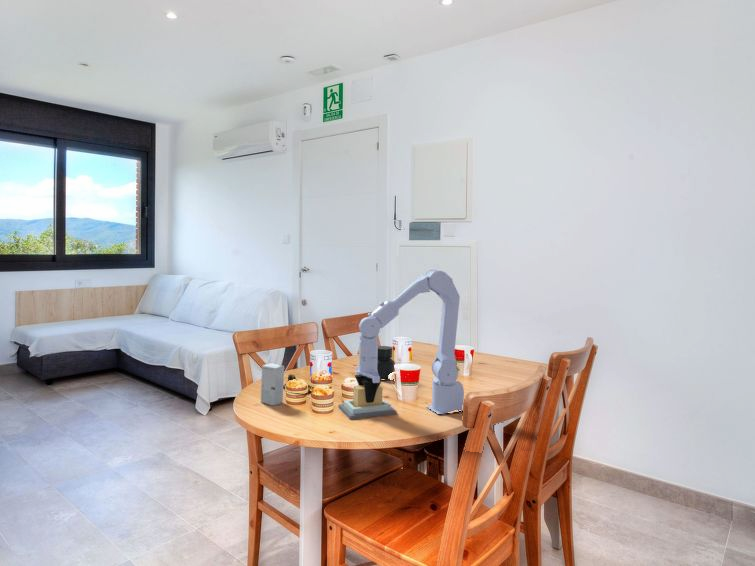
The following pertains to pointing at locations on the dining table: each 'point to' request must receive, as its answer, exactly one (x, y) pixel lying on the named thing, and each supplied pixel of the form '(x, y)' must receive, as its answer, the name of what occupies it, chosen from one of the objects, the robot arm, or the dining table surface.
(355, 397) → the ochre block
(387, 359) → the ink bottle
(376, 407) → the board
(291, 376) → the seal
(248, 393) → the dining table surface
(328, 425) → the dining table surface
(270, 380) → the skincare box
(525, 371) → the dining table surface
